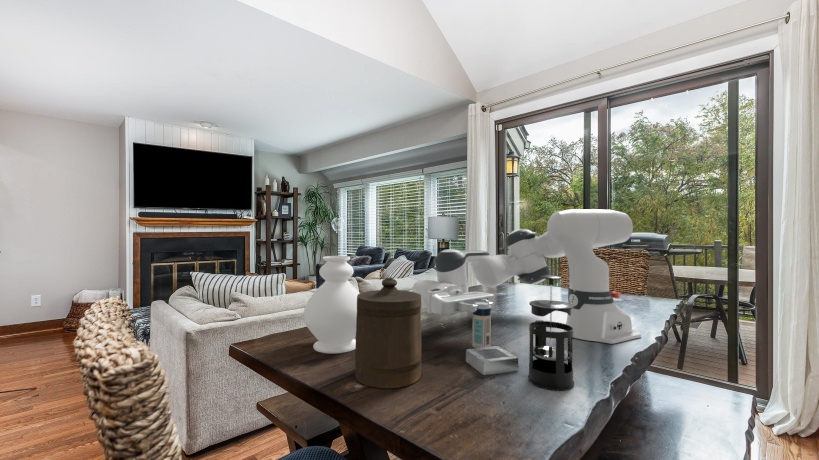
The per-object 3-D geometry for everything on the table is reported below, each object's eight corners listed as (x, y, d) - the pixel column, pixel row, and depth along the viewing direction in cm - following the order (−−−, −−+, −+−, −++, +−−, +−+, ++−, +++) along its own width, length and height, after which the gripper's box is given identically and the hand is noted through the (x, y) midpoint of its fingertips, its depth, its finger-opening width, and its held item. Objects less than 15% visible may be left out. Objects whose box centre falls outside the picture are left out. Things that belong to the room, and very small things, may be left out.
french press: (584, 391, 76) (585, 279, 75) (539, 393, 75) (540, 279, 75) (557, 369, 87) (558, 272, 87) (518, 370, 87) (519, 272, 86)
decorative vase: (377, 351, 100) (377, 258, 100) (310, 361, 92) (310, 260, 92) (357, 333, 116) (357, 253, 116) (298, 341, 108) (298, 255, 108)
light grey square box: (497, 357, 95) (497, 346, 95) (518, 370, 86) (518, 357, 86) (465, 361, 92) (466, 349, 92) (483, 375, 84) (483, 362, 84)
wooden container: (425, 365, 90) (425, 274, 90) (415, 392, 75) (415, 283, 75) (366, 361, 92) (366, 273, 92) (345, 386, 78) (345, 281, 78)
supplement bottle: (489, 344, 102) (489, 301, 102) (491, 350, 97) (492, 305, 97) (471, 344, 102) (472, 300, 102) (472, 350, 98) (473, 304, 97)
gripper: (474, 305, 116) (509, 314, 105) (422, 314, 105) (455, 324, 93) (474, 285, 116) (509, 291, 105) (422, 291, 105) (455, 299, 93)
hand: (483, 307), depth 99 cm, fingers closed on supplement bottle, 5 cm apart
